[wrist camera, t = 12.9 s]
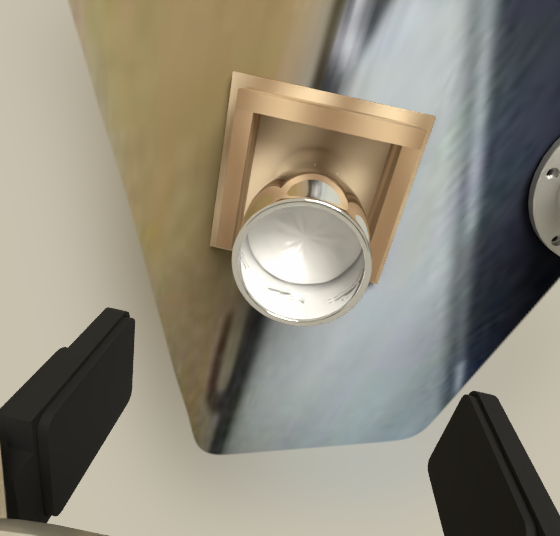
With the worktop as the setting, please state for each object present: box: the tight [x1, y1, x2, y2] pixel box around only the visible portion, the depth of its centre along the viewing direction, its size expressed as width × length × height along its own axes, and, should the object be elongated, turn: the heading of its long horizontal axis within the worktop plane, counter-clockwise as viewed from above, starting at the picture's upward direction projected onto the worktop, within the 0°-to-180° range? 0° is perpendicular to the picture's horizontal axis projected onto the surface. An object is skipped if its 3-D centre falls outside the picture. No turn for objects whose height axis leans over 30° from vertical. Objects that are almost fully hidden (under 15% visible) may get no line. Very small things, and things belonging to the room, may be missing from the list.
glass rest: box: [210, 71, 436, 284], centre depth 31 cm, size 15×14×5 cm
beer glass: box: [232, 149, 372, 326], centre depth 26 cm, size 7×7×15 cm
